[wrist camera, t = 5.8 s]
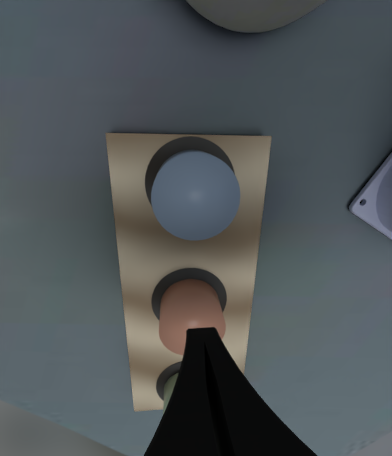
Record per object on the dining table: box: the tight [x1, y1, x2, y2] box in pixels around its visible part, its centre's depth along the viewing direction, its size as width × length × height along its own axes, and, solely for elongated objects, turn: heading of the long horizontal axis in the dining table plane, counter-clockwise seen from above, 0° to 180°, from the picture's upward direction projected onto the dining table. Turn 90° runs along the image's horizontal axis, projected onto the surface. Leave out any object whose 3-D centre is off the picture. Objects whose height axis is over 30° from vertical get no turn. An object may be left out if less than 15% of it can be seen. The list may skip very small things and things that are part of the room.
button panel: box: [106, 133, 272, 411], centre depth 20 cm, size 24×10×2 cm, turn 178°
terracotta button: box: [159, 279, 226, 355], centre depth 17 cm, size 4×4×3 cm
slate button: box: [151, 150, 240, 241], centre depth 13 cm, size 4×4×3 cm
